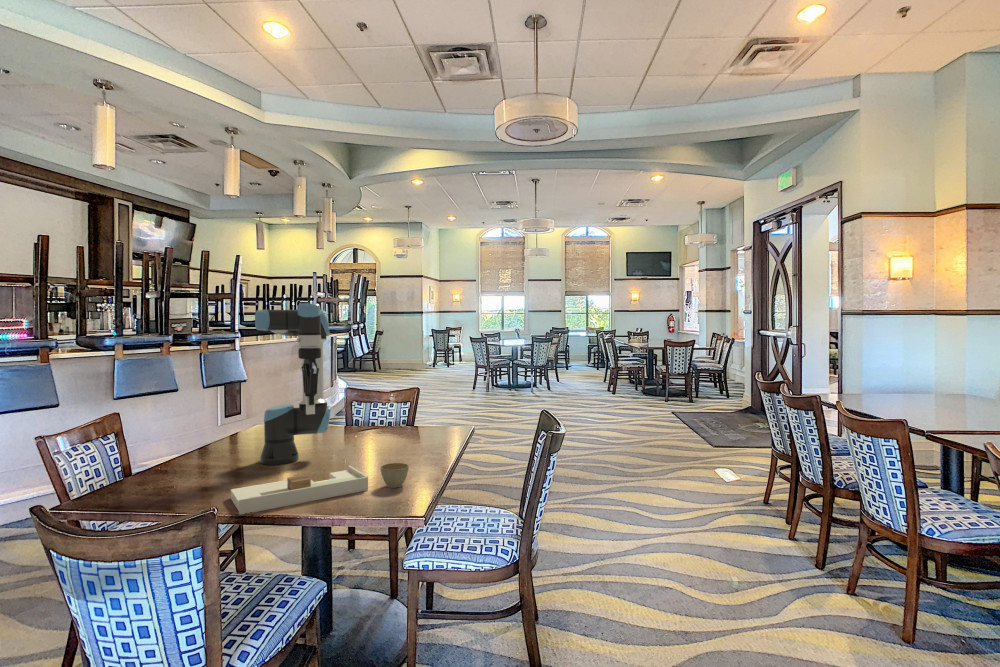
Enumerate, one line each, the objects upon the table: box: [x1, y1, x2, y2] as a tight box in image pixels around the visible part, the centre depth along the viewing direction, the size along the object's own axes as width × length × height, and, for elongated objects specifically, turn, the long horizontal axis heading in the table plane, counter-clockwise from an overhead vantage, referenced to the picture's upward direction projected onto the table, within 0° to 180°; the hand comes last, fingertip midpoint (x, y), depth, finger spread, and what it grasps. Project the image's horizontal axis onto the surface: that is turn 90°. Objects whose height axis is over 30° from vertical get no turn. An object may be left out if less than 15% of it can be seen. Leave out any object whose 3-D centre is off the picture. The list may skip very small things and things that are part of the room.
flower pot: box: [380, 462, 410, 489], centre depth 190 cm, size 10×10×7 cm
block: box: [286, 474, 312, 490], centre depth 178 cm, size 6×6×4 cm
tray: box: [230, 465, 369, 516], centre depth 181 cm, size 19×41×4 cm, turn 125°
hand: (310, 413), depth 187 cm, fingers closed
